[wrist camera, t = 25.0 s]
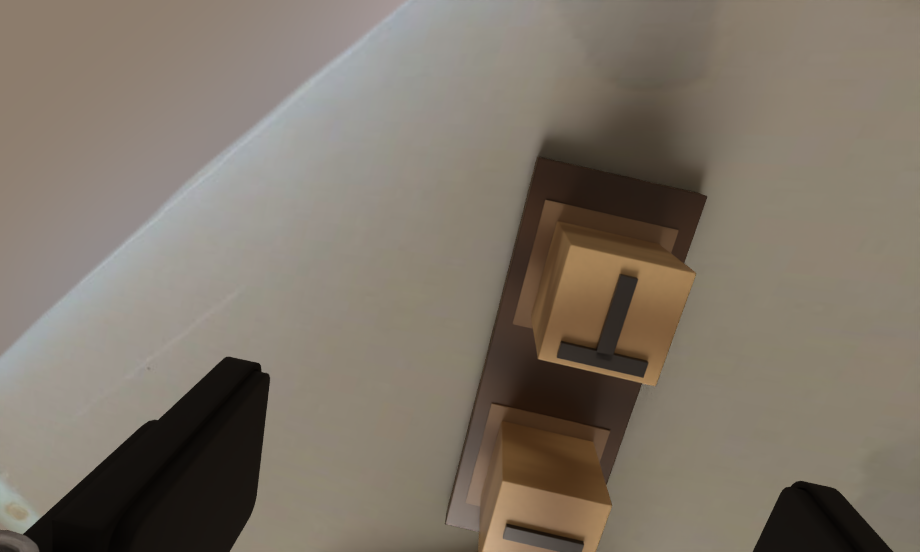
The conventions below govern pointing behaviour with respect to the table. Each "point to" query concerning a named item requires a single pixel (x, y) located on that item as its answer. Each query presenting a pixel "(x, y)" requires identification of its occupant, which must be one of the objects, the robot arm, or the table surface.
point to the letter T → (609, 303)
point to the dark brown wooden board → (512, 341)
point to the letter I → (542, 494)
